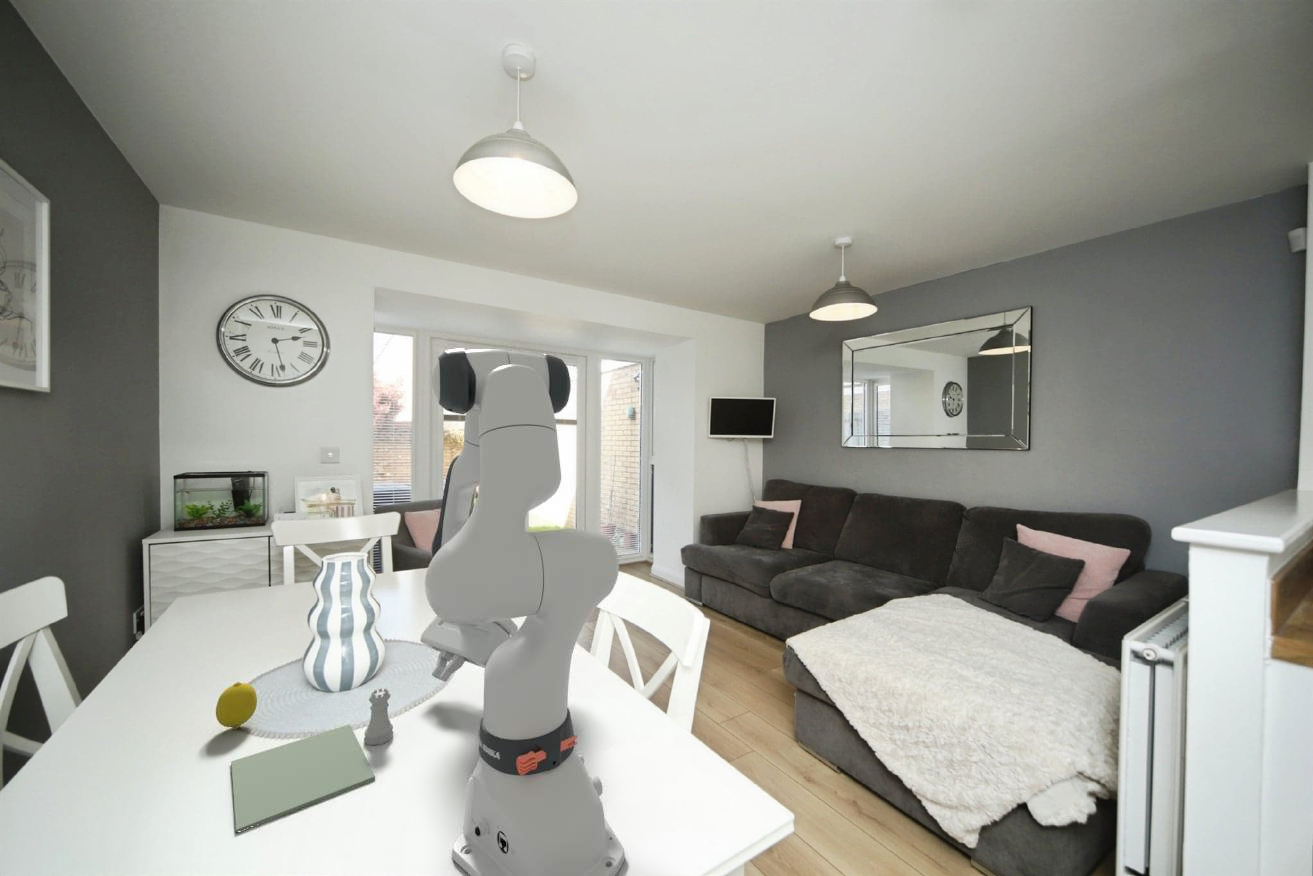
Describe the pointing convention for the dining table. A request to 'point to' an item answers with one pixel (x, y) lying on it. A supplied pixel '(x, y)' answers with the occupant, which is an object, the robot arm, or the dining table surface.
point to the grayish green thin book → (297, 775)
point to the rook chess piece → (379, 719)
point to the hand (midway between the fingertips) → (438, 678)
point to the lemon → (236, 705)
